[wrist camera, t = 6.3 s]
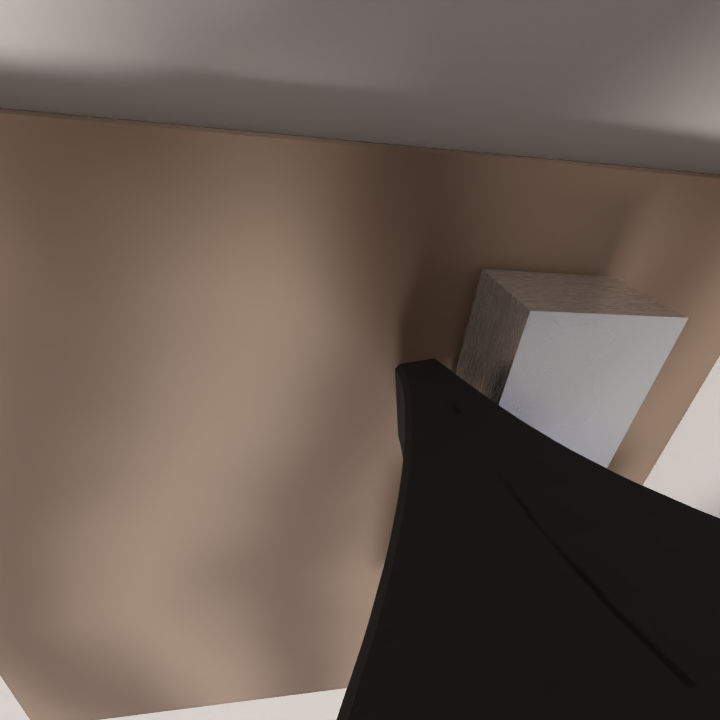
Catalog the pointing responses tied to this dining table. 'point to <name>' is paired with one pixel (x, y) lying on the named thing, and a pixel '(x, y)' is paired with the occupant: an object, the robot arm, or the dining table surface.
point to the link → (567, 353)
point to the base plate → (262, 382)
